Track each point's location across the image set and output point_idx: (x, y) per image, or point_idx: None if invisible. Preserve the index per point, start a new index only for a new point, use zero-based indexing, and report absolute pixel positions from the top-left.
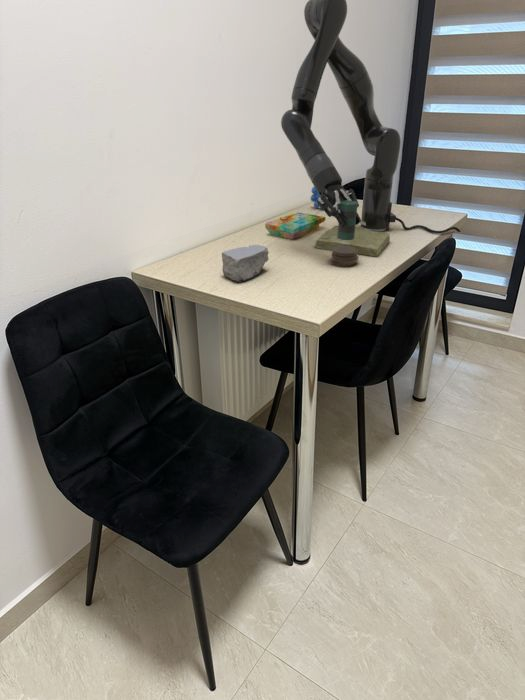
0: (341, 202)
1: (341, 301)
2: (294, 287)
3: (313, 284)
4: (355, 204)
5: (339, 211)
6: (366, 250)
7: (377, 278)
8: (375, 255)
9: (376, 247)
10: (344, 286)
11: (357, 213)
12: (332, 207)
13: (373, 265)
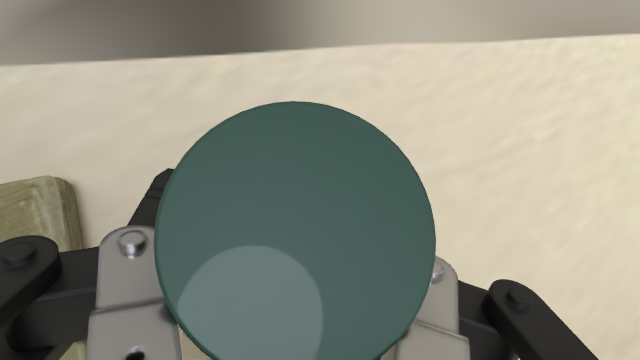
0: (397, 316)
1: (582, 52)
2: (623, 236)
3: (554, 202)
4: (318, 104)
5: (438, 269)
6: (74, 235)
7: (334, 53)
8: (71, 188)
9: (40, 183)
10: (486, 106)
11: (139, 210)
12: (548, 334)
13: None
